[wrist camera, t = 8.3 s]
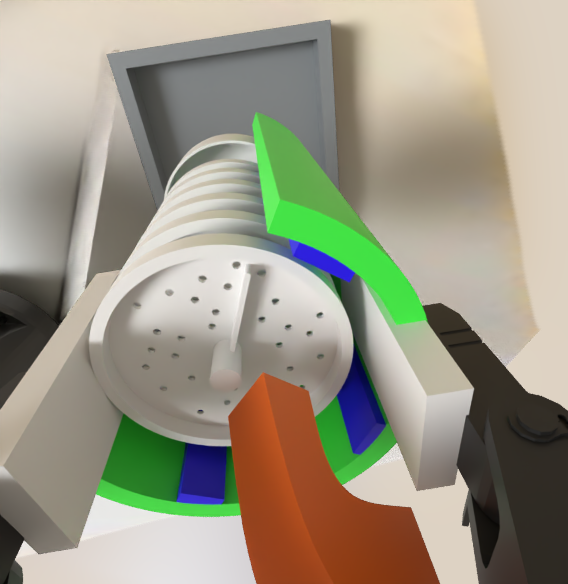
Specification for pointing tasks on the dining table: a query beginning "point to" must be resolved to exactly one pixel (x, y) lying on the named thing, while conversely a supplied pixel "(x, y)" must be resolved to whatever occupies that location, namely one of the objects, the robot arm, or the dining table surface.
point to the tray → (228, 94)
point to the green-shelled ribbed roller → (256, 365)
